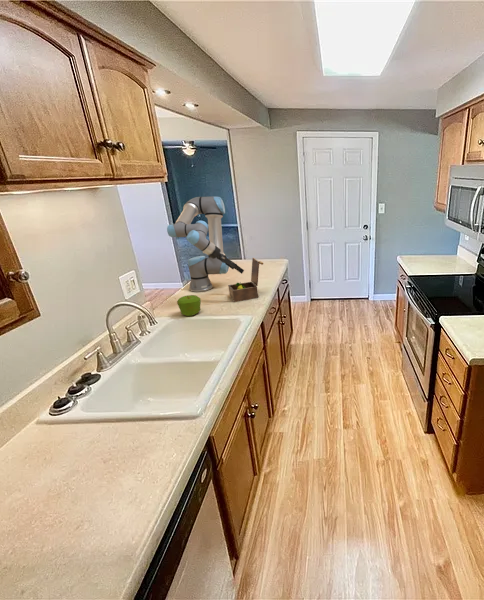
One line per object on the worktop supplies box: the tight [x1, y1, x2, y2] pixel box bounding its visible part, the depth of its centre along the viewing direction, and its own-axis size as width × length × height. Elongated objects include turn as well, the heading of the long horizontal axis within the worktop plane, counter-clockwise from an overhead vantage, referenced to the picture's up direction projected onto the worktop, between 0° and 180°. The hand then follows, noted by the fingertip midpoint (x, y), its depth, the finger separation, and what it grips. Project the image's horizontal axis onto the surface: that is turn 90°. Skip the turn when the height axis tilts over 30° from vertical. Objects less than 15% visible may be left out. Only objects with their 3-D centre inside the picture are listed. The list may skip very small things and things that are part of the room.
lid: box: [250, 257, 264, 287], centre depth 221 cm, size 16×14×5 cm
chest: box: [227, 281, 259, 303], centre depth 220 cm, size 16×14×8 cm
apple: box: [176, 294, 202, 317], centre depth 192 cm, size 12×12×11 cm
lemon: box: [235, 281, 245, 290], centre depth 219 cm, size 7×6×10 cm
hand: (238, 269), depth 215 cm, fingers open, 13 cm apart
